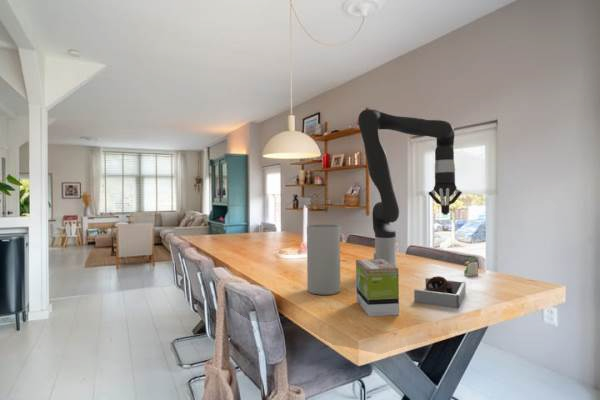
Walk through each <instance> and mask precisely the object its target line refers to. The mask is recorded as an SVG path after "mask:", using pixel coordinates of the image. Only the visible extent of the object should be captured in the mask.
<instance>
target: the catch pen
mask: <svg viewBox="0 0 600 400" xmlns="http://www.w3.org/2000/svg"><path fill="white" fill-rule="evenodd" d="M431 278H432V277H425V283H426V282H427V281H428V280H429V279H431ZM446 280H447V281H449V282H450V283H451V284H452V289H453V291H454V293H455V294H449V293H441V292H433V291H426V289H425V290H424V289H423V290H422V289H416V288H415V289H414V291H413V297H414V298H413V301H414V302H415V303H421V304H428V305H436V306H442V307H451V308H457V309H459V308H460V307H461V305H462V302H463V299H464V298H465V295H466V281H460V280H450V279H446ZM440 283H442V281H440ZM429 287H430V288H433V287H432V285H431V283H430V284H429Z"/></svg>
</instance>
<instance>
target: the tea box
mask: <svg viewBox="0 0 600 400" xmlns="http://www.w3.org/2000/svg"><path fill="white" fill-rule="evenodd" d="M399 275H400V274H399V267H397V266H396V267H395V266H394V265H392V264H390V263H389V262H387V261H385V260H384V259H374V258H373V259H372V258H371V259H356V260H355V278H356V279H355V280H356V302H357V303H358V304H359V306H360V307H361V309H363V311H364V312H365V314H366V315H367V316H368V317H382V316H383V317H384V316H399V315H400V302H399V301H400V295H399V294H400V291H399V290H400V289H399V280H400V278H399V277H400V276H399Z"/></svg>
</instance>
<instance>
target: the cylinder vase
mask: <svg viewBox="0 0 600 400" xmlns="http://www.w3.org/2000/svg"><path fill="white" fill-rule="evenodd" d="M306 253H307V254H306V257H307V258H306V261H307V262H306V263H307V268H306V269H307V271H306V272H307V275H306V276H307V277H306V278H307V291H308V292H309V293H310V294H312V293H313V294H312V295H316V294H318V296H330V295H331V296H332V295H335V294H339V292H340V291H341V225H340V224H327V223H326V224H320V223H319V224H309V225H306Z"/></svg>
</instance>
